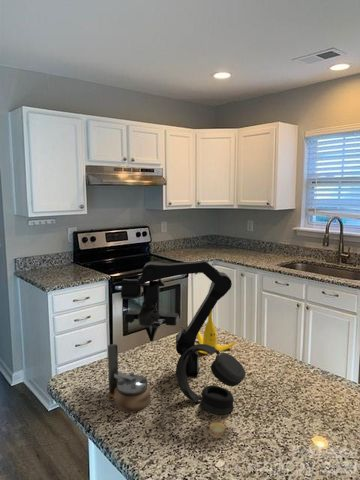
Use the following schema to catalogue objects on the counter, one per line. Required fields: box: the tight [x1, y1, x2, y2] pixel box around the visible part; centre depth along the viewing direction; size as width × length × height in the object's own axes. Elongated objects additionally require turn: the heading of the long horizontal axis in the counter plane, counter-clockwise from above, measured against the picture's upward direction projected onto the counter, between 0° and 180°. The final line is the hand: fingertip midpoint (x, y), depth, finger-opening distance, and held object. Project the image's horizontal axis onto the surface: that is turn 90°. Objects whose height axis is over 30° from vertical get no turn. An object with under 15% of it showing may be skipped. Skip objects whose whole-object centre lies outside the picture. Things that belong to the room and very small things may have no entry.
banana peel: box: [196, 310, 237, 355], centre depth 154 cm, size 17×19×17 cm
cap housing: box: [106, 383, 152, 413], centre depth 113 cm, size 15×11×4 cm
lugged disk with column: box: [107, 343, 148, 396], centre depth 113 cm, size 14×9×15 cm, turn 56°
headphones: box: [175, 343, 246, 415], centre depth 110 cm, size 18×8×20 cm
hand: (151, 341), depth 129 cm, fingers closed
